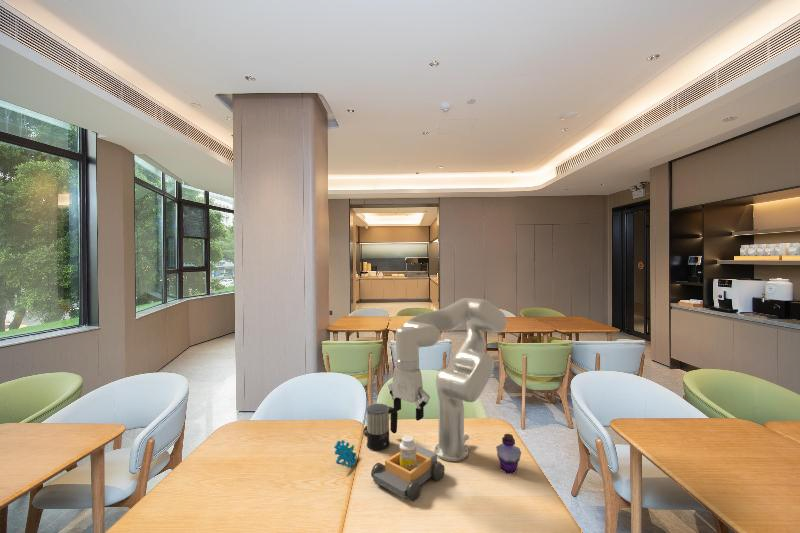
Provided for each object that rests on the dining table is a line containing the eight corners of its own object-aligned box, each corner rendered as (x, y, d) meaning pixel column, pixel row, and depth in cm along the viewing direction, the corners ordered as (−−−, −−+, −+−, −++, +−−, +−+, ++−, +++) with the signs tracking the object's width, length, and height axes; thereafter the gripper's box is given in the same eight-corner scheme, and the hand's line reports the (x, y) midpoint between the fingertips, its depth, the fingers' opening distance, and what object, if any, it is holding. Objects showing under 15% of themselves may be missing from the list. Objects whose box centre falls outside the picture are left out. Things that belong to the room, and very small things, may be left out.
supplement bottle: (406, 461, 126) (406, 432, 126) (419, 467, 123) (419, 437, 122) (396, 469, 122) (396, 439, 122) (409, 475, 118) (409, 444, 118)
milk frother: (380, 454, 138) (380, 415, 137) (348, 442, 146) (348, 406, 146) (400, 438, 150) (400, 402, 149) (370, 428, 158) (370, 394, 158)
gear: (348, 469, 125) (332, 444, 128) (337, 479, 126) (321, 454, 129) (363, 457, 135) (348, 434, 138) (353, 467, 136) (337, 443, 140)
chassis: (408, 457, 135) (407, 439, 135) (446, 475, 124) (446, 456, 124) (369, 482, 120) (368, 463, 120) (408, 505, 109) (408, 484, 109)
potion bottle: (499, 459, 133) (499, 427, 133) (523, 466, 129) (523, 433, 129) (492, 472, 126) (492, 437, 125) (518, 479, 121) (518, 444, 121)
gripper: (381, 361, 124) (381, 411, 124) (421, 372, 112) (421, 427, 113) (395, 356, 129) (396, 404, 130) (435, 366, 118) (436, 418, 119)
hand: (408, 414), depth 122 cm, fingers open, 9 cm apart
